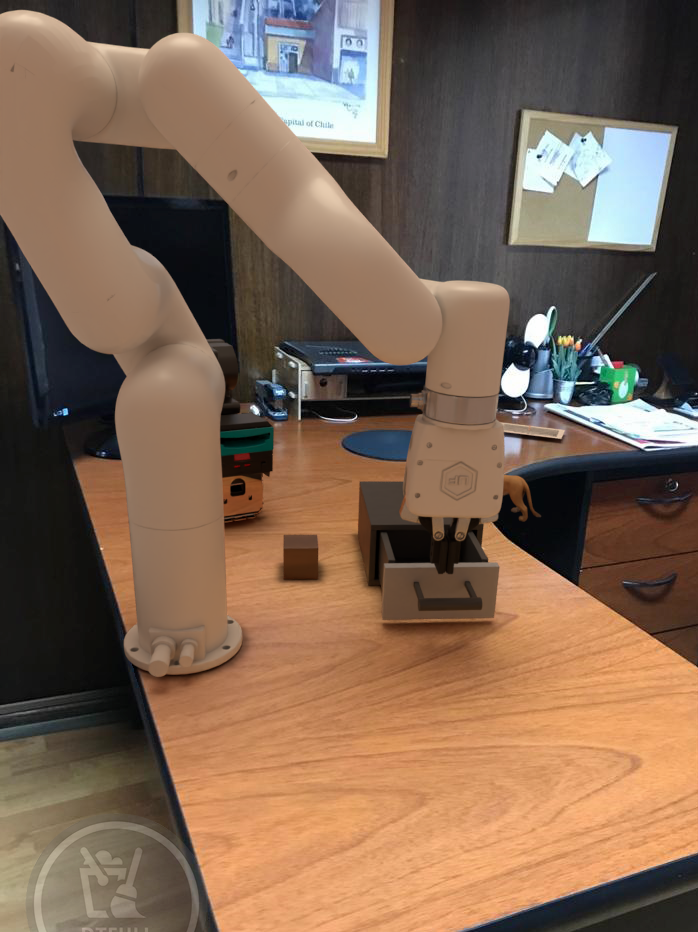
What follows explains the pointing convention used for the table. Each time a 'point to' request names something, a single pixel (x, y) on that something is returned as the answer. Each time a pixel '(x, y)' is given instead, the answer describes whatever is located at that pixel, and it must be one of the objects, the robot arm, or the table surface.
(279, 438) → the table surface
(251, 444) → the bill acceptor
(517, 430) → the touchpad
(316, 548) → the block
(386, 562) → the drawer
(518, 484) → the lion figurine
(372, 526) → the cabinet
